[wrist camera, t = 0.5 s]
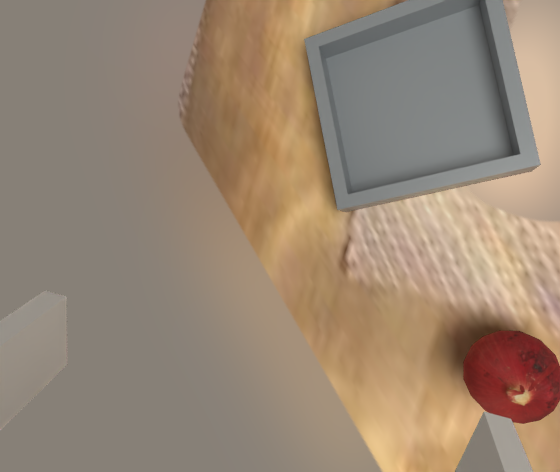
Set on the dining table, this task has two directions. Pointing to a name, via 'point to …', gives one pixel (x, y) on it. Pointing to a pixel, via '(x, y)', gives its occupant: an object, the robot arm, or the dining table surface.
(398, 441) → the dining table surface
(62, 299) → the robot arm
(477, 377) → the onion
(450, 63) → the tray
